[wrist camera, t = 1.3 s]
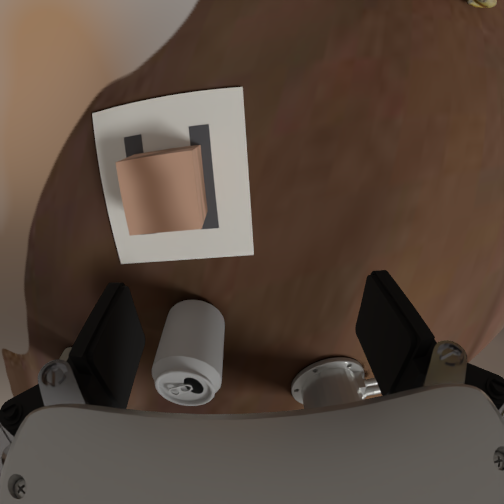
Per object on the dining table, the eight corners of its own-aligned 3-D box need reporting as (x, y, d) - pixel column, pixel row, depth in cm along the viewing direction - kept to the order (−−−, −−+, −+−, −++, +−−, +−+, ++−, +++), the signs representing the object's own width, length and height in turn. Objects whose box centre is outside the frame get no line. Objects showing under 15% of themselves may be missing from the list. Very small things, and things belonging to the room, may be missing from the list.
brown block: (200, 144, 27) (192, 150, 22) (207, 211, 30) (201, 229, 25) (134, 154, 27) (115, 162, 22) (145, 217, 30) (129, 235, 25)
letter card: (242, 87, 25) (242, 86, 24) (253, 253, 33) (253, 254, 32) (93, 113, 25) (91, 113, 24) (122, 262, 33) (121, 264, 32)
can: (232, 333, 38) (230, 406, 27) (182, 342, 39) (168, 412, 28) (213, 289, 35) (204, 364, 24) (159, 302, 35) (134, 372, 25)
